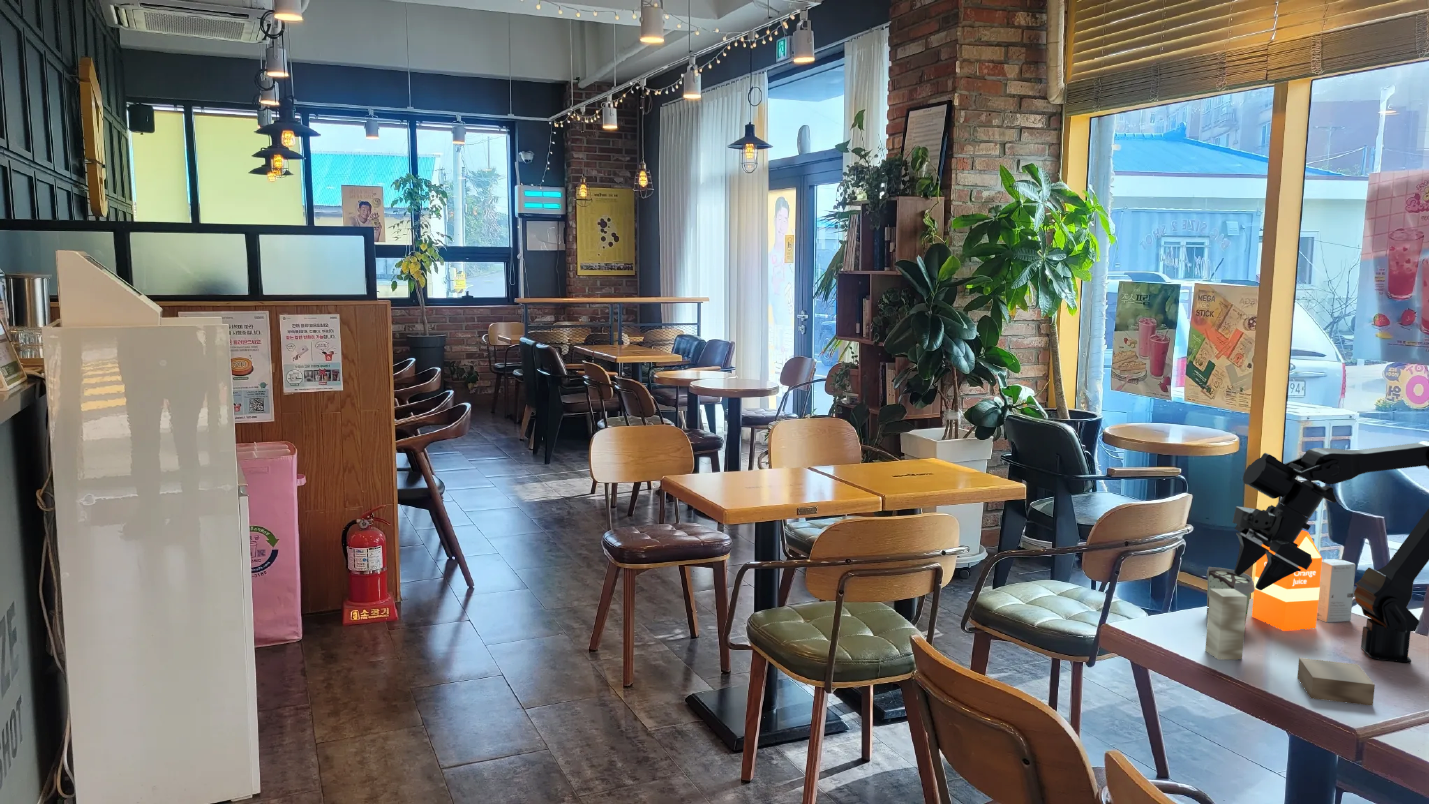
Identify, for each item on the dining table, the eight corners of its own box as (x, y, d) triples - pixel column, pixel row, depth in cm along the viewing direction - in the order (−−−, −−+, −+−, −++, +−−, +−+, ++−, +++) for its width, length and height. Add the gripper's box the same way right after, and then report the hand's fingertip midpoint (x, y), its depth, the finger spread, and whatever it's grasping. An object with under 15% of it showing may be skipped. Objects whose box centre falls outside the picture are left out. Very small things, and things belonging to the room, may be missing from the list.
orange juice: (1283, 631, 199) (1291, 533, 197) (1250, 616, 208) (1258, 522, 205) (1316, 628, 201) (1325, 531, 198) (1283, 614, 209) (1291, 520, 207)
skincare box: (1327, 623, 204) (1332, 565, 203) (1309, 615, 208) (1314, 559, 207) (1352, 621, 205) (1357, 563, 204) (1334, 614, 210) (1339, 557, 208)
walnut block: (1355, 686, 173) (1358, 664, 173) (1372, 707, 165) (1375, 684, 164) (1297, 679, 176) (1299, 657, 175) (1310, 700, 167) (1312, 677, 167)
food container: (1263, 634, 197) (1268, 585, 196) (1232, 633, 197) (1236, 584, 196) (1233, 613, 210) (1236, 566, 208) (1203, 612, 210) (1207, 566, 208)
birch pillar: (1228, 650, 188) (1233, 588, 187) (1242, 659, 184) (1247, 596, 182) (1205, 650, 188) (1210, 588, 187) (1217, 659, 184) (1222, 596, 182)
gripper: (1234, 479, 195) (1190, 547, 197) (1278, 500, 176) (1229, 575, 179) (1285, 507, 194) (1240, 574, 197) (1334, 531, 176) (1284, 605, 178)
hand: (1246, 581), depth 188 cm, fingers open, 9 cm apart
